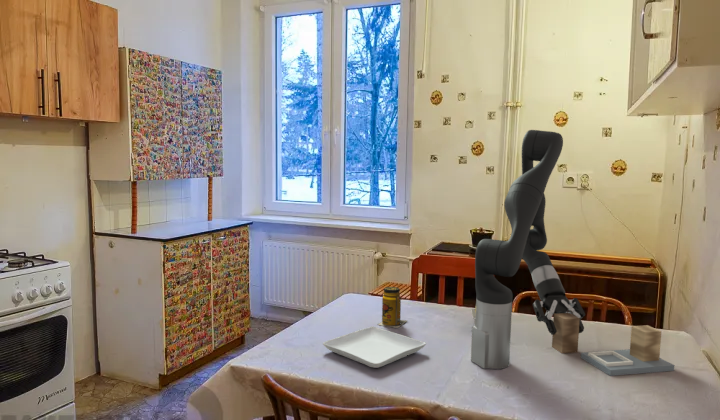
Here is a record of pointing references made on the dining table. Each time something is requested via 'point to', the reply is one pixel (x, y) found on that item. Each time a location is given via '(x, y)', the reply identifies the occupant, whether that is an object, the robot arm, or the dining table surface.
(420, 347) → the salad plate
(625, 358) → the board
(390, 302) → the condiment
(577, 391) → the dining table surface
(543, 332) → the dining table surface
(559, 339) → the walnut pillar
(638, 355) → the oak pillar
